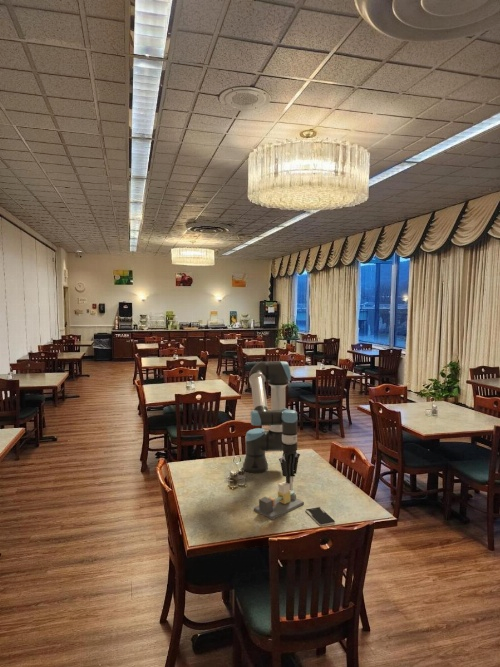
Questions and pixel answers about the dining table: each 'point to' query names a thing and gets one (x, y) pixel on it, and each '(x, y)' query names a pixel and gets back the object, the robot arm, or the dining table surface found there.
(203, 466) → the dining table surface
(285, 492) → the sleeve
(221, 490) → the dining table surface
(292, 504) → the comb base
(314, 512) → the smartphone
